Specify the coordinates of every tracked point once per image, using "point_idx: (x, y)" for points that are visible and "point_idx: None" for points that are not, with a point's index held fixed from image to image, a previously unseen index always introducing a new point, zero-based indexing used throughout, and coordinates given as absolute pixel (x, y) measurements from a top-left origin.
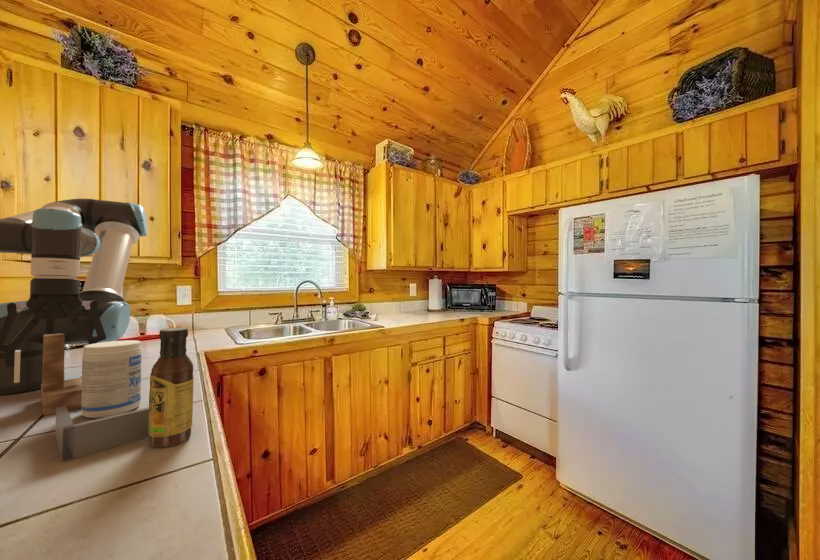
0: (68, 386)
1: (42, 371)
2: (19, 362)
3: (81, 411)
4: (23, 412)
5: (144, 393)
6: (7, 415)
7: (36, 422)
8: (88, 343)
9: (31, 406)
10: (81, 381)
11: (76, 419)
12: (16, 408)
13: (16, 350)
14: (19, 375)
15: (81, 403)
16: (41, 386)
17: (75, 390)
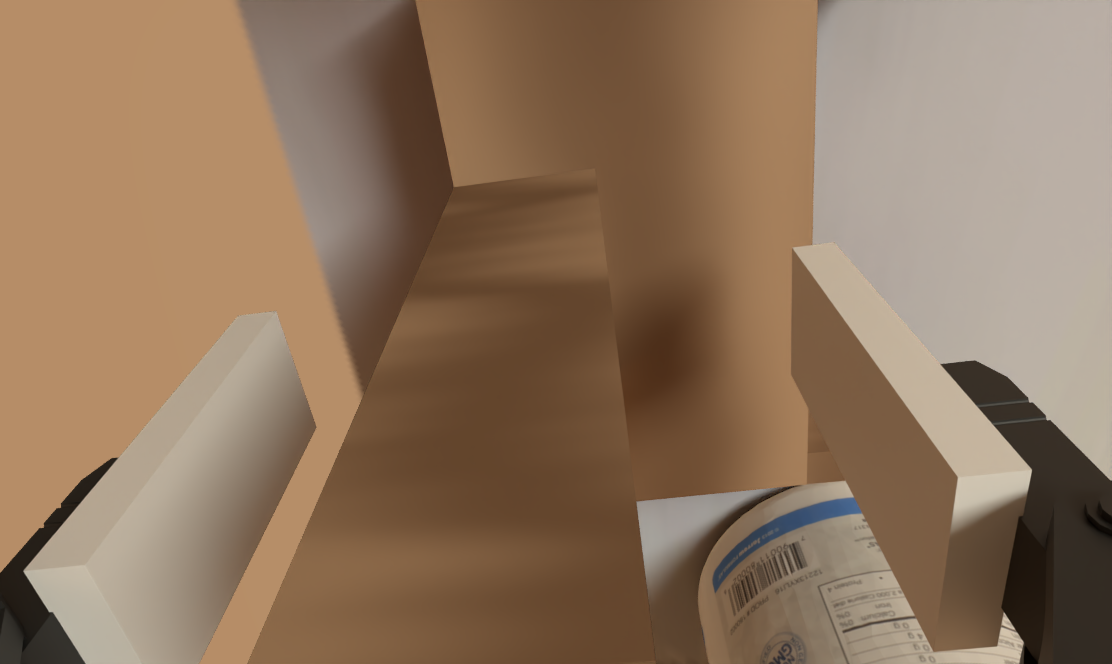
0: (649, 316)
1: (426, 252)
2: (234, 582)
3: (699, 612)
4: (403, 270)
5: (1094, 325)
6: (328, 277)
7: None
8: (1017, 569)
9: (413, 127)
10: (752, 171)
11: (673, 594)
12: (325, 110)
13: (59, 599)
14: (292, 470)
15: (706, 645)
16: (432, 71)
17: (691, 488)
